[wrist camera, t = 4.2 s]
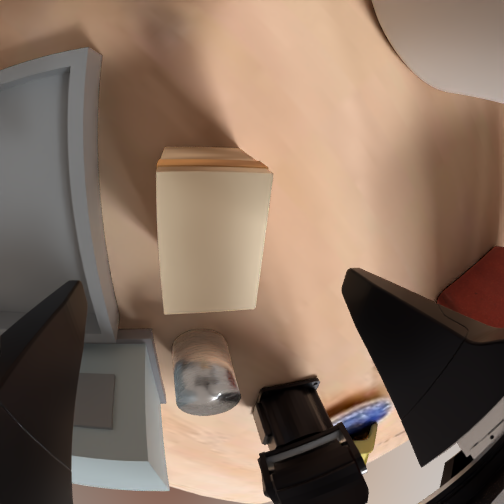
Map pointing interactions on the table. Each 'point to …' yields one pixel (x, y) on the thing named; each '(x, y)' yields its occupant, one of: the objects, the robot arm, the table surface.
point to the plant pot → (479, 291)
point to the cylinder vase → (449, 43)
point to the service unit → (120, 415)
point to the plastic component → (367, 443)
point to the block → (210, 228)
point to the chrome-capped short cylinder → (204, 373)
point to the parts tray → (53, 189)
